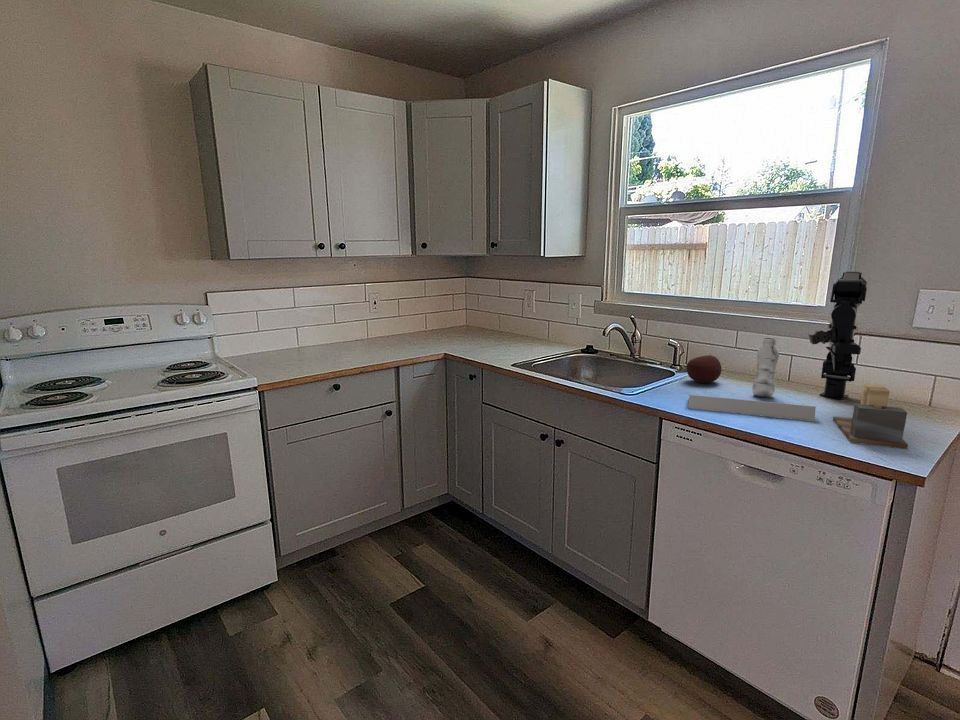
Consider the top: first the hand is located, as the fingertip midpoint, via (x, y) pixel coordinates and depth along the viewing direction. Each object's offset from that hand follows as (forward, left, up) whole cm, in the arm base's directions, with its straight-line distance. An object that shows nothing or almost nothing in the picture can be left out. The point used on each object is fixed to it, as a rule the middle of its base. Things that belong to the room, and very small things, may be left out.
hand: (836, 371), depth 156 cm
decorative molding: (+22, -15, -13) cm, 29 cm away
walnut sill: (+16, +15, -12) cm, 25 cm away
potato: (+4, -41, -12) cm, 43 cm away
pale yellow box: (+18, +16, -11) cm, 26 cm away
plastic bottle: (+4, -19, -12) cm, 23 cm away
